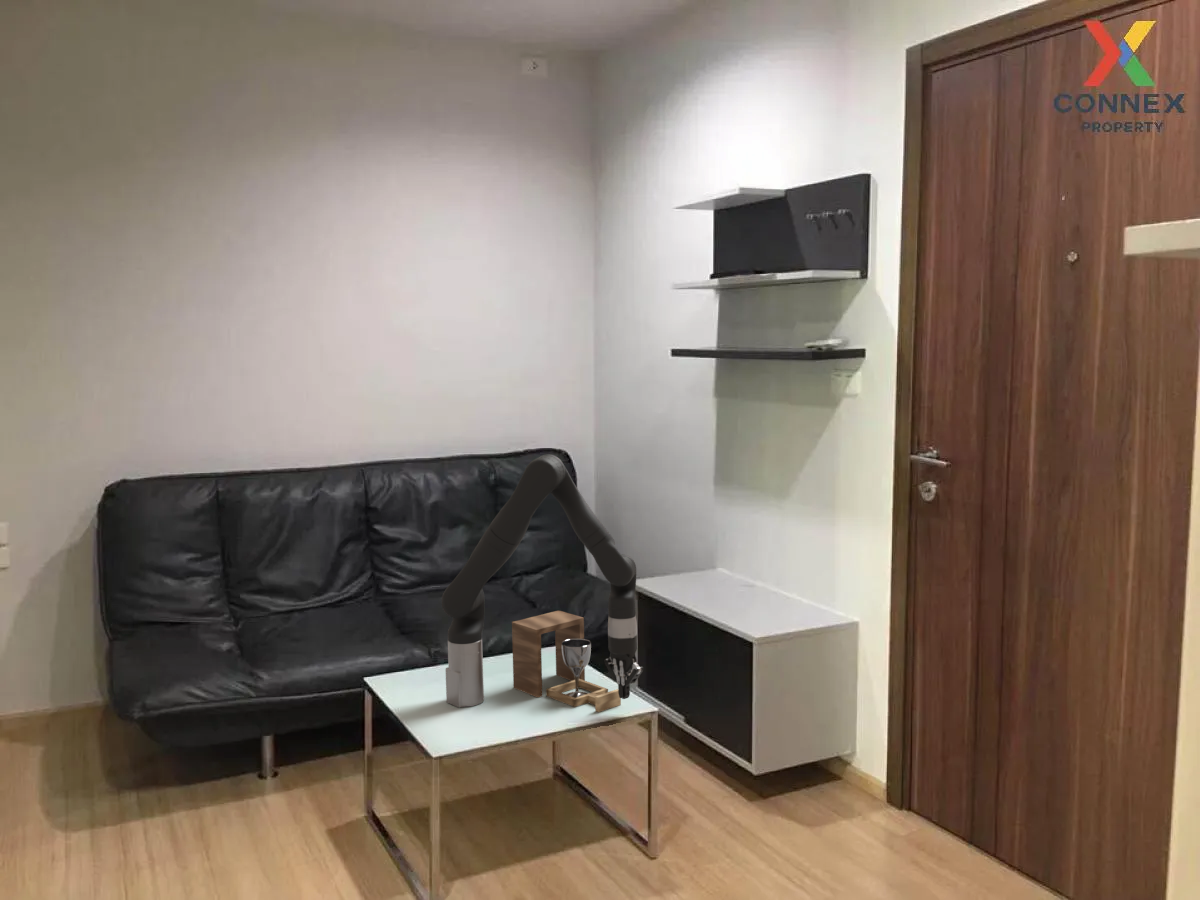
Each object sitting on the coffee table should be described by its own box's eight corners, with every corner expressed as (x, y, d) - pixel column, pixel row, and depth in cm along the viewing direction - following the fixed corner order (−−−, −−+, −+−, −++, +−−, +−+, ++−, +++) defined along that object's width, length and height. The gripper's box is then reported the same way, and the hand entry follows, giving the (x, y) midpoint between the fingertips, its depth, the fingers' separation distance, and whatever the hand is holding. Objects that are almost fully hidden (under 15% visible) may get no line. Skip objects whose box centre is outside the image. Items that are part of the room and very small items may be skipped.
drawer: (592, 714, 266) (592, 699, 266) (546, 695, 281) (546, 681, 280) (626, 702, 274) (626, 688, 274) (579, 685, 289) (579, 671, 288)
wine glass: (588, 701, 275) (587, 647, 274) (559, 700, 277) (558, 646, 275) (594, 691, 283) (593, 639, 282) (566, 690, 285) (565, 637, 283)
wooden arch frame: (538, 697, 279) (536, 629, 277) (513, 687, 287) (511, 621, 285) (584, 682, 291) (583, 617, 288) (560, 673, 299) (558, 610, 297)
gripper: (594, 630, 266) (596, 695, 268) (629, 641, 257) (631, 707, 258) (615, 625, 271) (617, 688, 273) (651, 634, 262) (652, 700, 263)
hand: (624, 697), depth 266 cm, fingers closed
